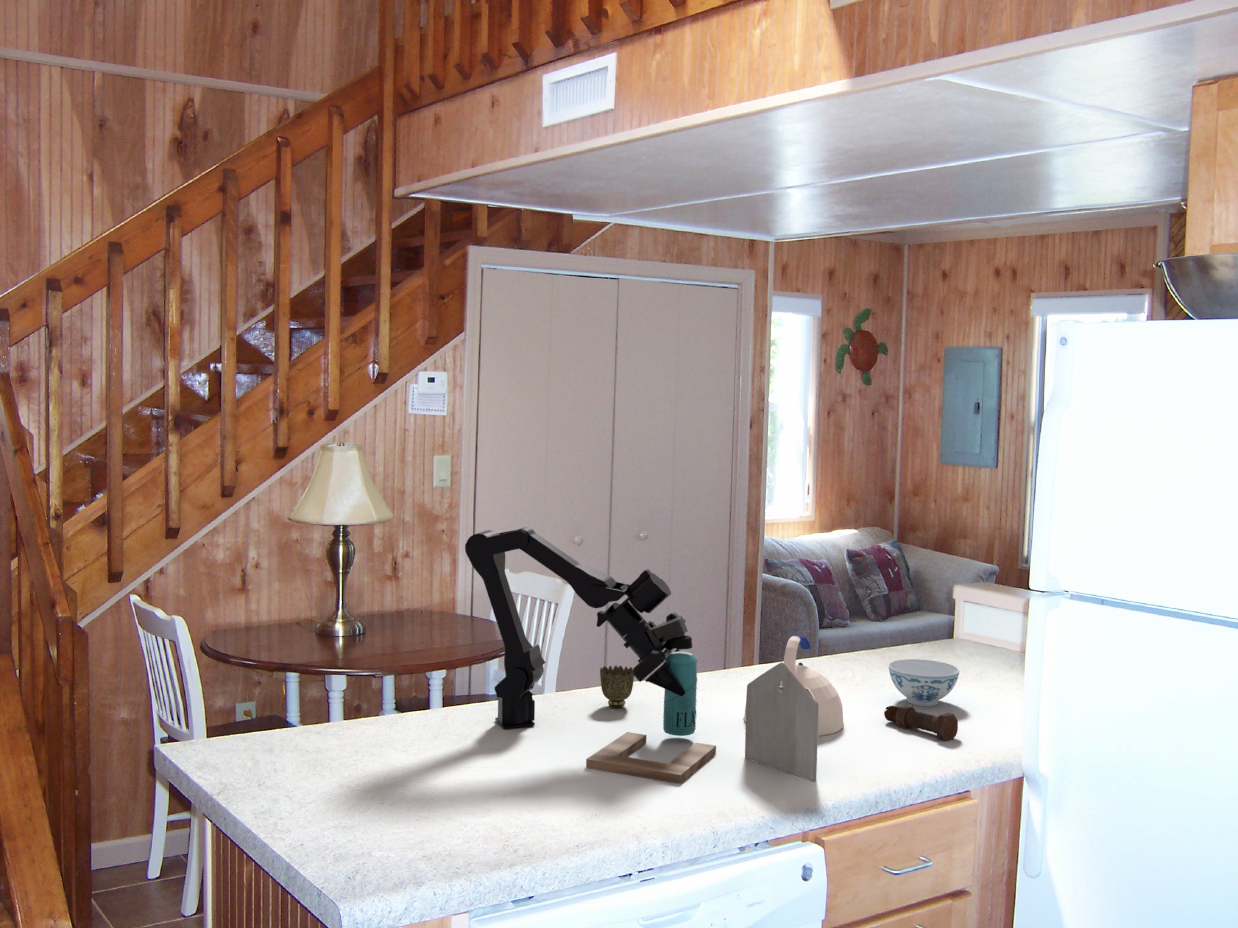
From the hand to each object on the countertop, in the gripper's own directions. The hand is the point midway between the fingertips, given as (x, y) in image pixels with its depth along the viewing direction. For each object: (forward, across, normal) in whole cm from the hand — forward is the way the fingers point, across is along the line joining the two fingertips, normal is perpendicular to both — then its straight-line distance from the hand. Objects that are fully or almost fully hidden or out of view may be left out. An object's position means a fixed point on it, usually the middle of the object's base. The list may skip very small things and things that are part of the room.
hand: (687, 690), depth 218 cm
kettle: (+20, +18, -6) cm, 28 cm away
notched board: (+4, -14, +9) cm, 17 cm away
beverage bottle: (+6, 0, +8) cm, 10 cm away
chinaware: (+38, +43, -25) cm, 62 cm away
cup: (-6, +18, +20) cm, 28 cm away
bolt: (+38, +21, -24) cm, 49 cm away
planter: (+22, -8, -8) cm, 25 cm away
